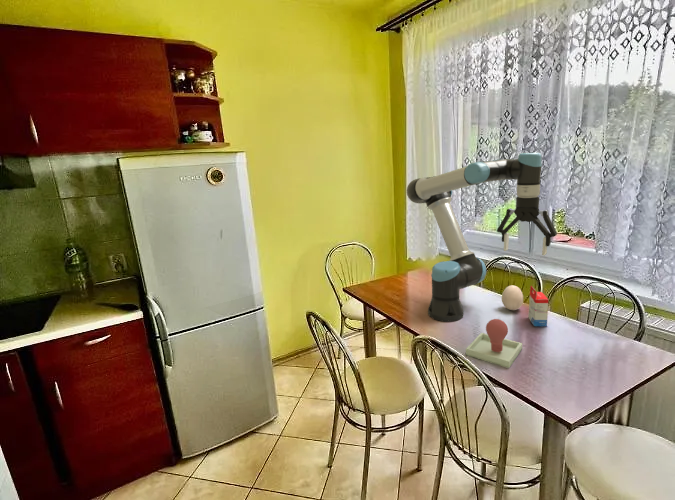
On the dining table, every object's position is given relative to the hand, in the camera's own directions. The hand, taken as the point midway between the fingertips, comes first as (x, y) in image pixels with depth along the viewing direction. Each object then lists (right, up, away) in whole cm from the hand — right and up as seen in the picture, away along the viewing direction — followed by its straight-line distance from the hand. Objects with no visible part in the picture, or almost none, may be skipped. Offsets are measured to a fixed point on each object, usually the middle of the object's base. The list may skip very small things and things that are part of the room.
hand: (524, 252), depth 140 cm
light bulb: (-15, -36, -8) cm, 39 cm away
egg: (+7, -26, +25) cm, 37 cm away
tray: (-15, -36, -8) cm, 40 cm away
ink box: (+11, -29, +12) cm, 33 cm away
